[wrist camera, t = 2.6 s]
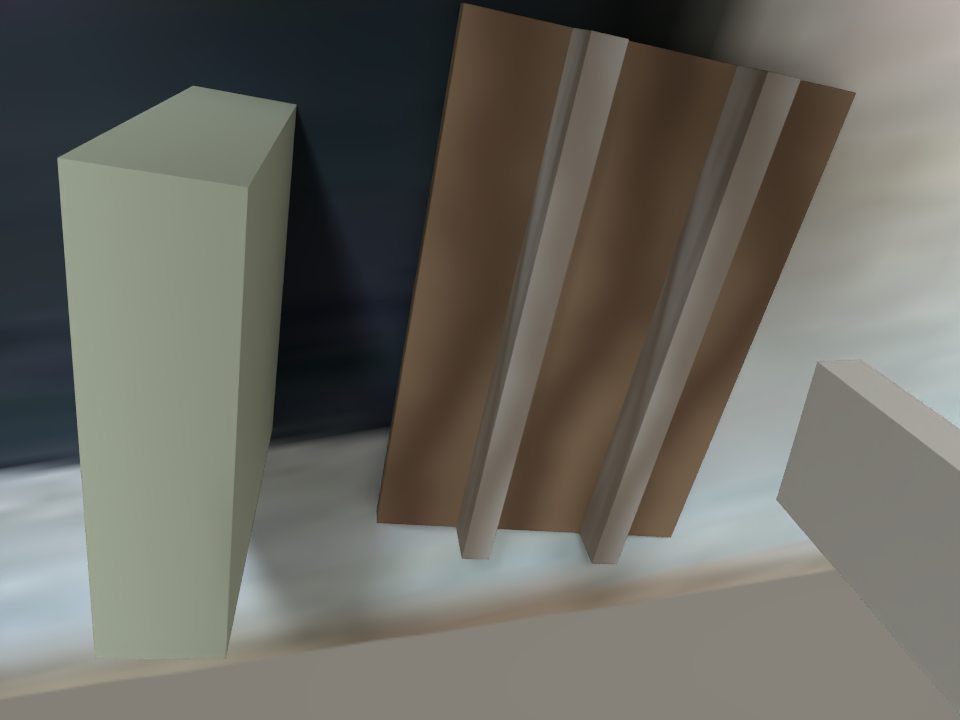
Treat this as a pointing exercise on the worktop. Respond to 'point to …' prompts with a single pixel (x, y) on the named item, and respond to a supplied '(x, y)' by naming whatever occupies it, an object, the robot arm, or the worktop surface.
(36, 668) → the worktop surface
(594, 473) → the walnut track
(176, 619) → the door panel
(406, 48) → the worktop surface
